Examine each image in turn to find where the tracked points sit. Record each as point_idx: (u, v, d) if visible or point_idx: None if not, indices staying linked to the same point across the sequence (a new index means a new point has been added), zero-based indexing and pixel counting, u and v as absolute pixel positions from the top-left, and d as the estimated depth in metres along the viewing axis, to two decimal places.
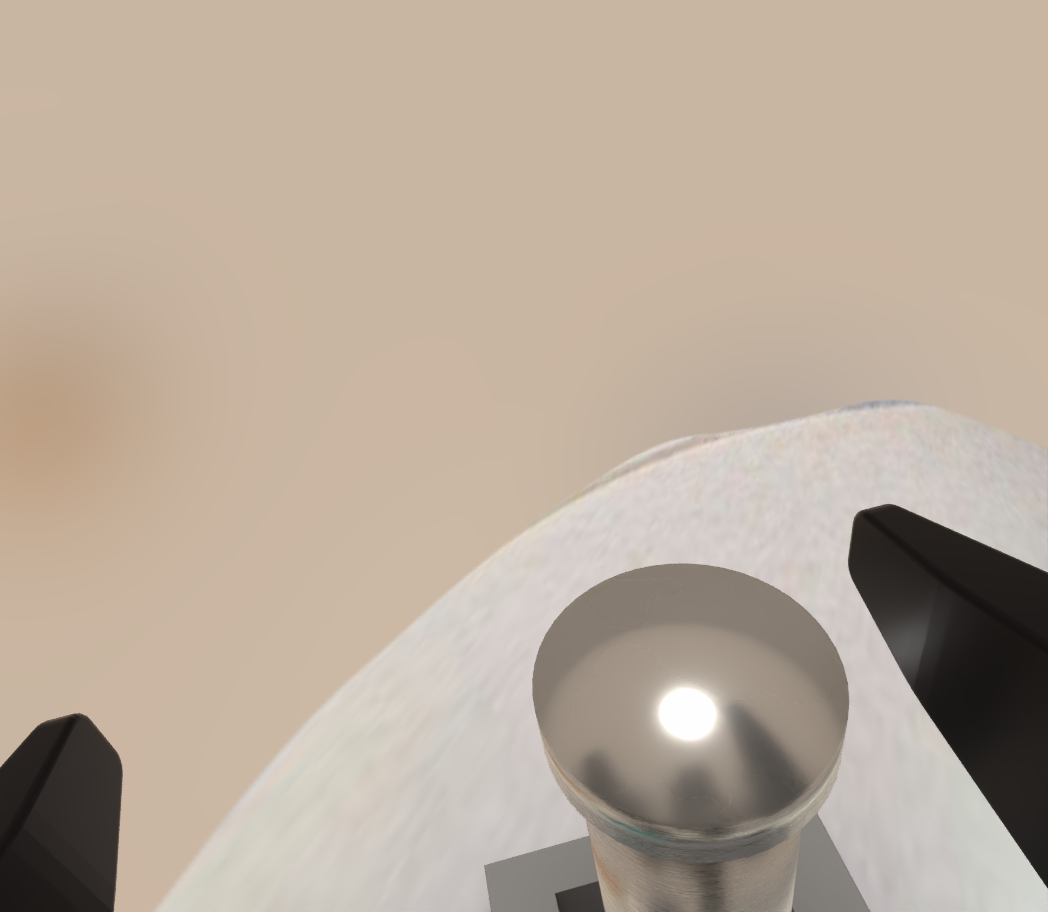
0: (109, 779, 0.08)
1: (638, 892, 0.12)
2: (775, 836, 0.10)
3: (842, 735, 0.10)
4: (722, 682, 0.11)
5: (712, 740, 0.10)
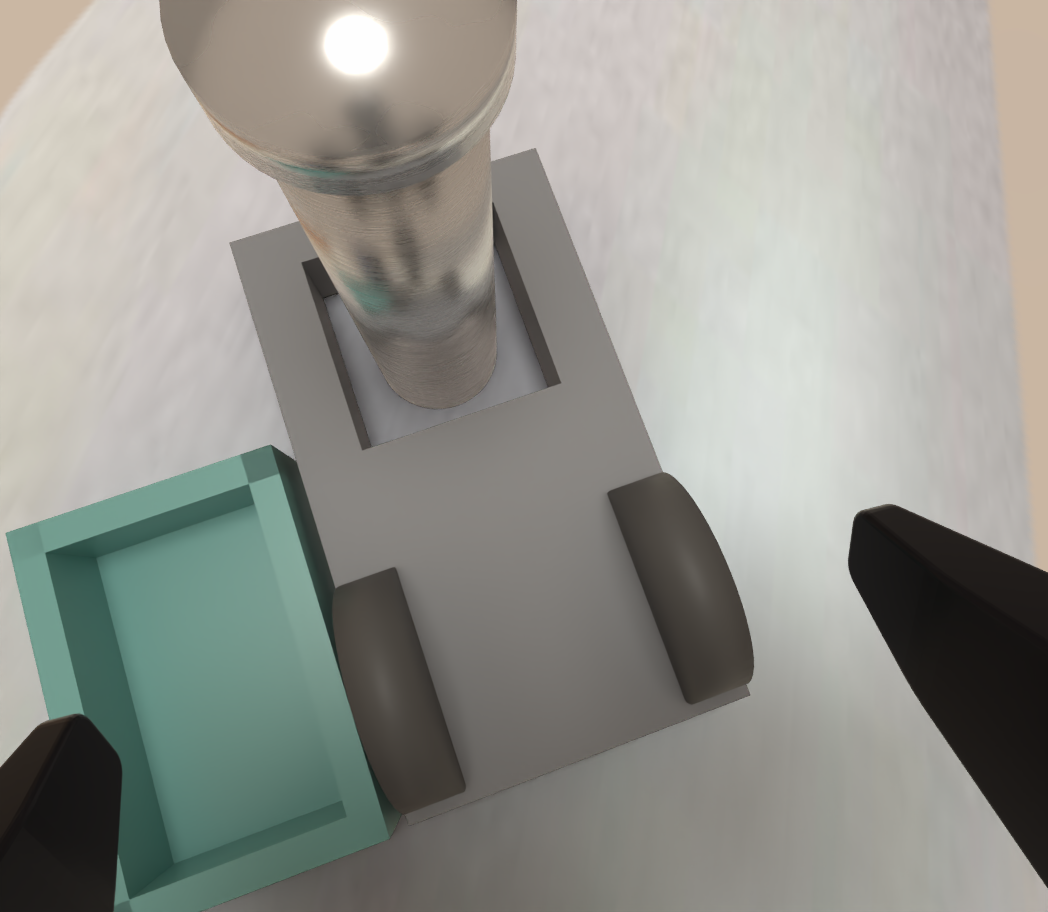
0: (109, 779, 0.08)
1: (328, 236, 0.12)
2: (429, 166, 0.10)
3: (500, 59, 0.09)
4: (382, 1, 0.09)
5: (364, 67, 0.09)
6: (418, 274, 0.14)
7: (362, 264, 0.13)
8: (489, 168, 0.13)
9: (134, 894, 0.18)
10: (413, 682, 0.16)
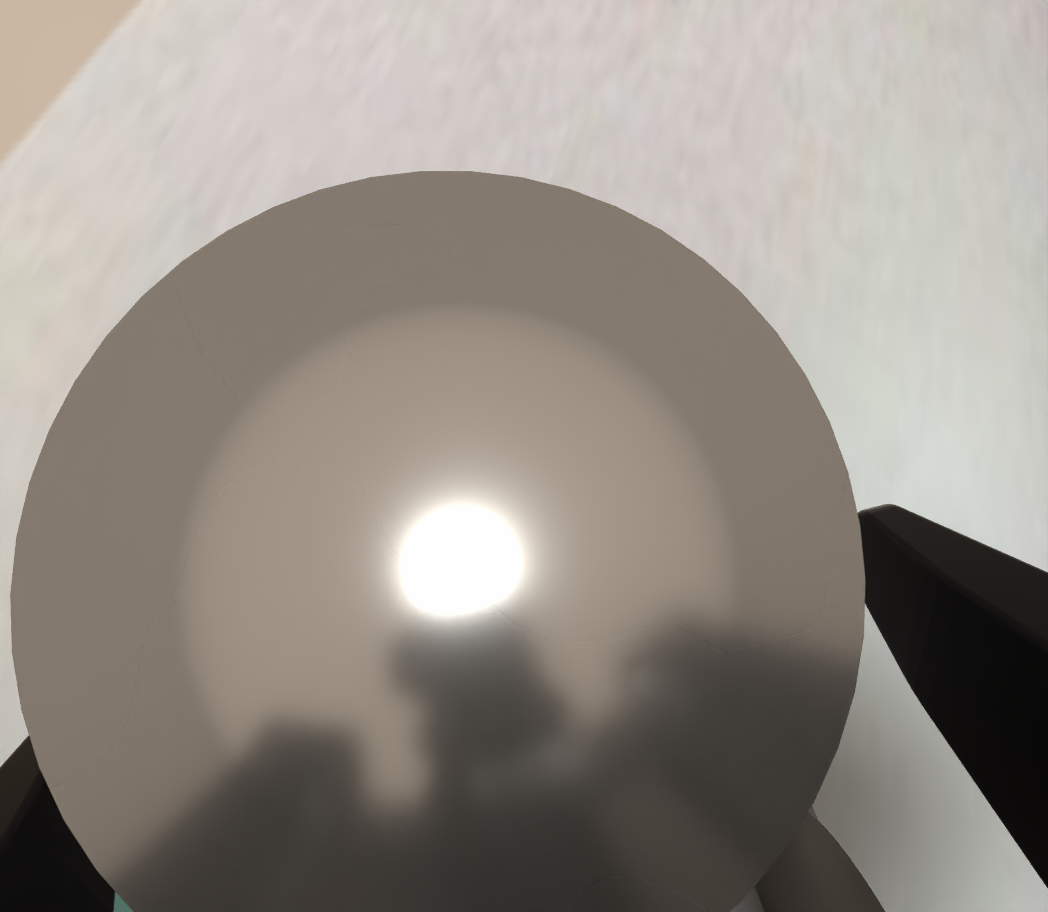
0: None
1: None
2: None
3: (835, 737, 0.04)
4: (548, 588, 0.04)
5: (512, 776, 0.04)
6: None
7: None
8: None
9: None
10: None
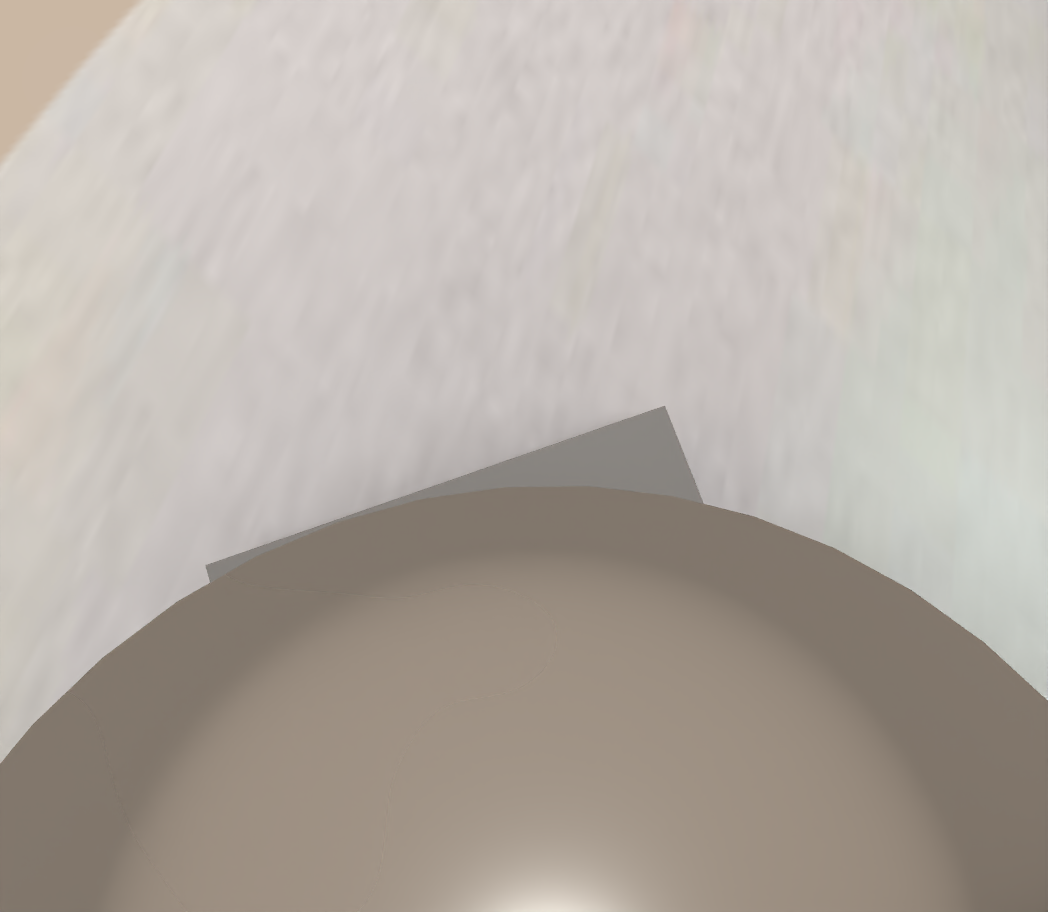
0: None
1: None
2: None
3: None
4: None
5: None
6: None
7: None
8: None
9: None
10: None
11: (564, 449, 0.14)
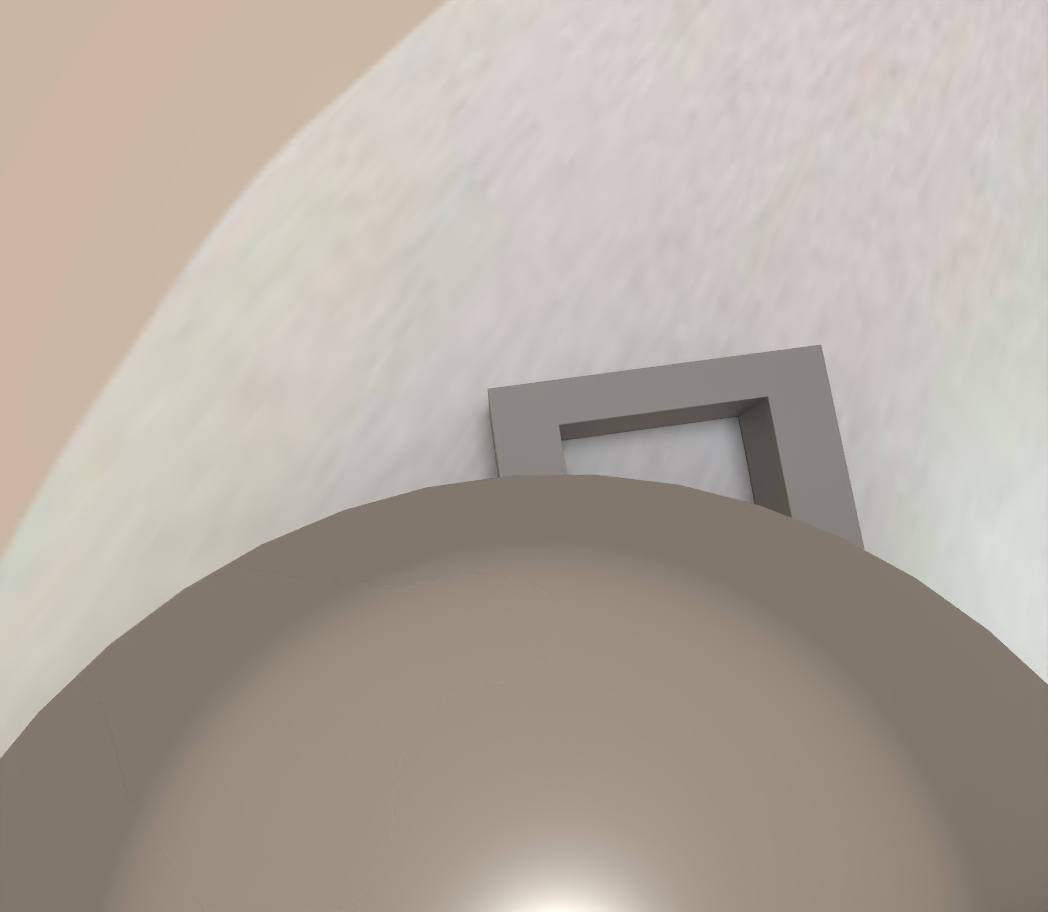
0: None
1: None
2: None
3: None
4: None
5: None
6: None
7: None
8: None
9: None
10: None
11: (745, 360, 0.20)
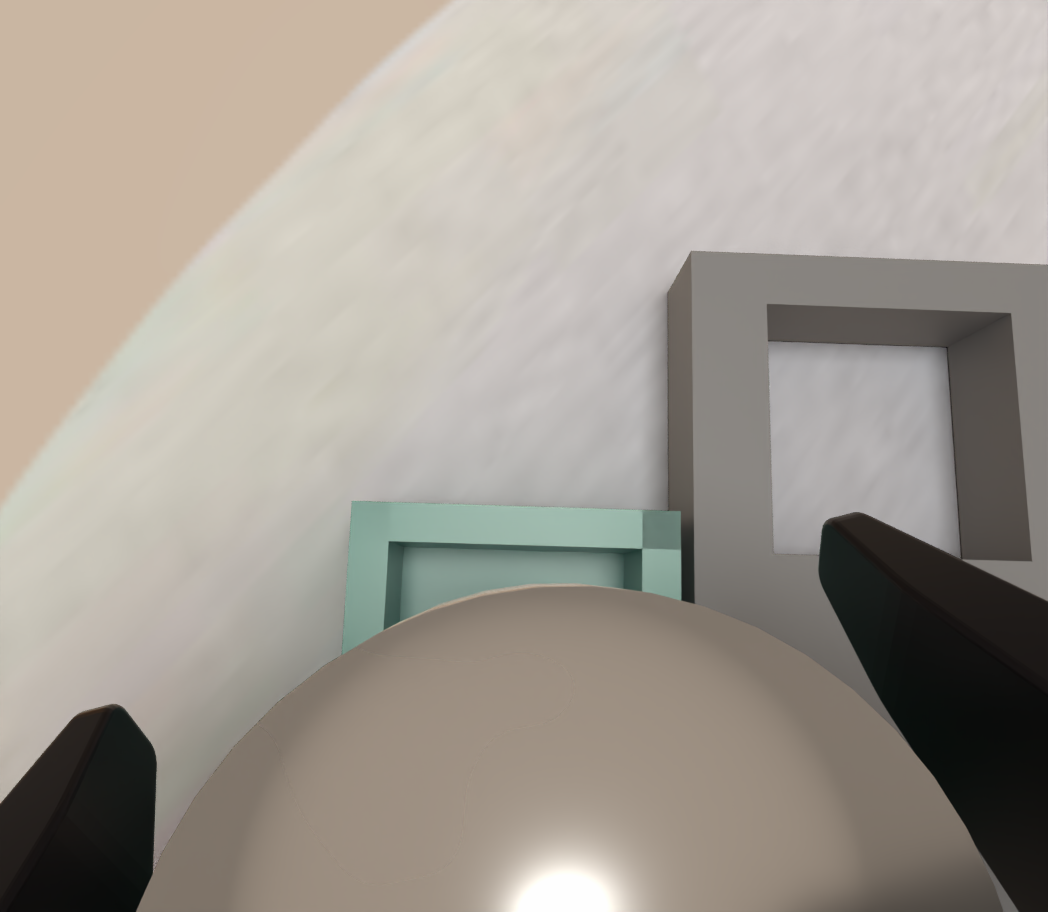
0: (144, 770, 0.08)
1: None
2: None
3: None
4: None
5: None
6: None
7: None
8: None
9: None
10: None
11: (989, 269, 0.17)
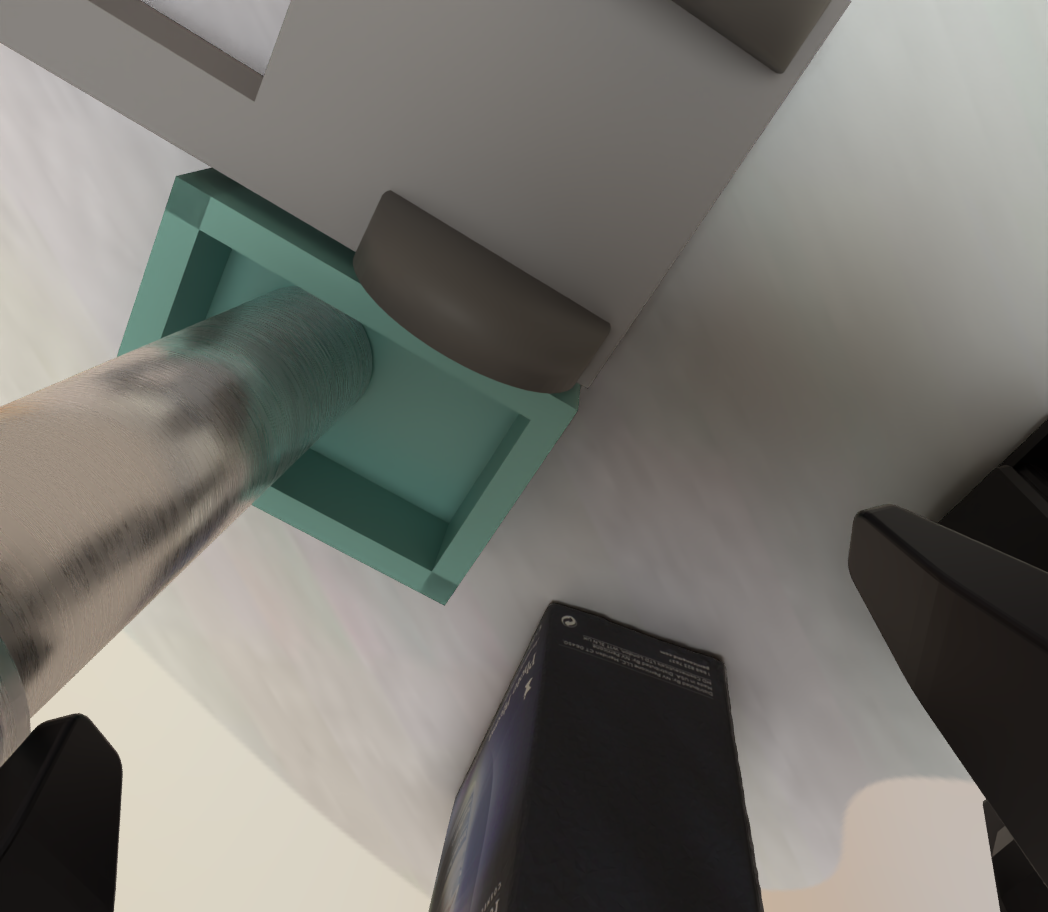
0: (109, 779, 0.08)
1: None
2: (3, 701, 0.08)
3: None
4: None
5: None
6: (174, 547, 0.11)
7: (140, 609, 0.11)
8: (57, 456, 0.10)
9: (433, 565, 0.20)
10: (475, 291, 0.14)
11: None
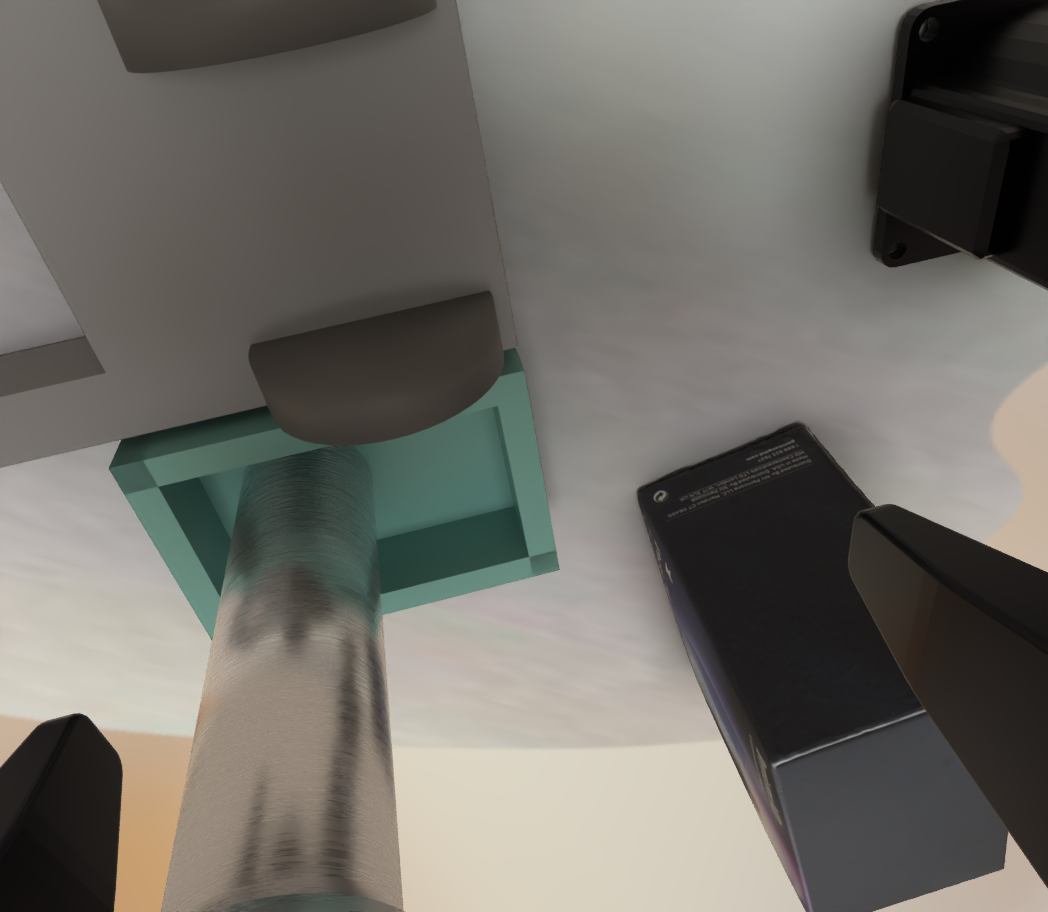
0: (109, 779, 0.08)
1: None
2: None
3: None
4: None
5: None
6: (377, 727, 0.14)
7: (393, 778, 0.14)
8: (265, 753, 0.12)
9: (526, 550, 0.22)
10: (370, 382, 0.15)
11: None
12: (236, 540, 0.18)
